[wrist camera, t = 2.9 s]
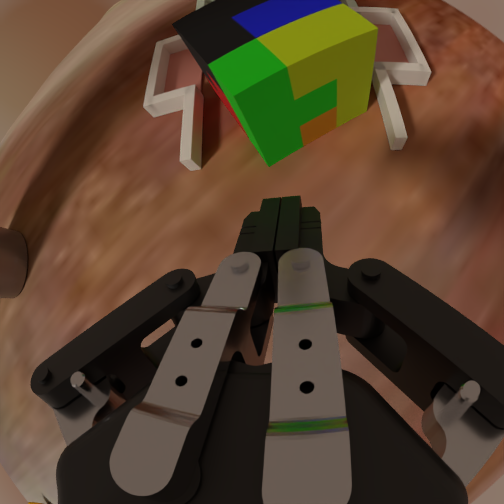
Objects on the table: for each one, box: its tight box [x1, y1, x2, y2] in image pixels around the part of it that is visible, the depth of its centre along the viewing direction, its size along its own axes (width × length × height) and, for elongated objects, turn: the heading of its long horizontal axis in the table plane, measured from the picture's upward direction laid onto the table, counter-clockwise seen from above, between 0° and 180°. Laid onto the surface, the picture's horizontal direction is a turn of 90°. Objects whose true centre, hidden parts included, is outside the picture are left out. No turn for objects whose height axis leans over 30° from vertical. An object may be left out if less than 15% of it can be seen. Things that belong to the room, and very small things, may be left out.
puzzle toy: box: [172, 0, 378, 167], centre depth 19 cm, size 10×10×10 cm
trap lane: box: [143, 0, 431, 171], centre depth 24 cm, size 25×27×2 cm
